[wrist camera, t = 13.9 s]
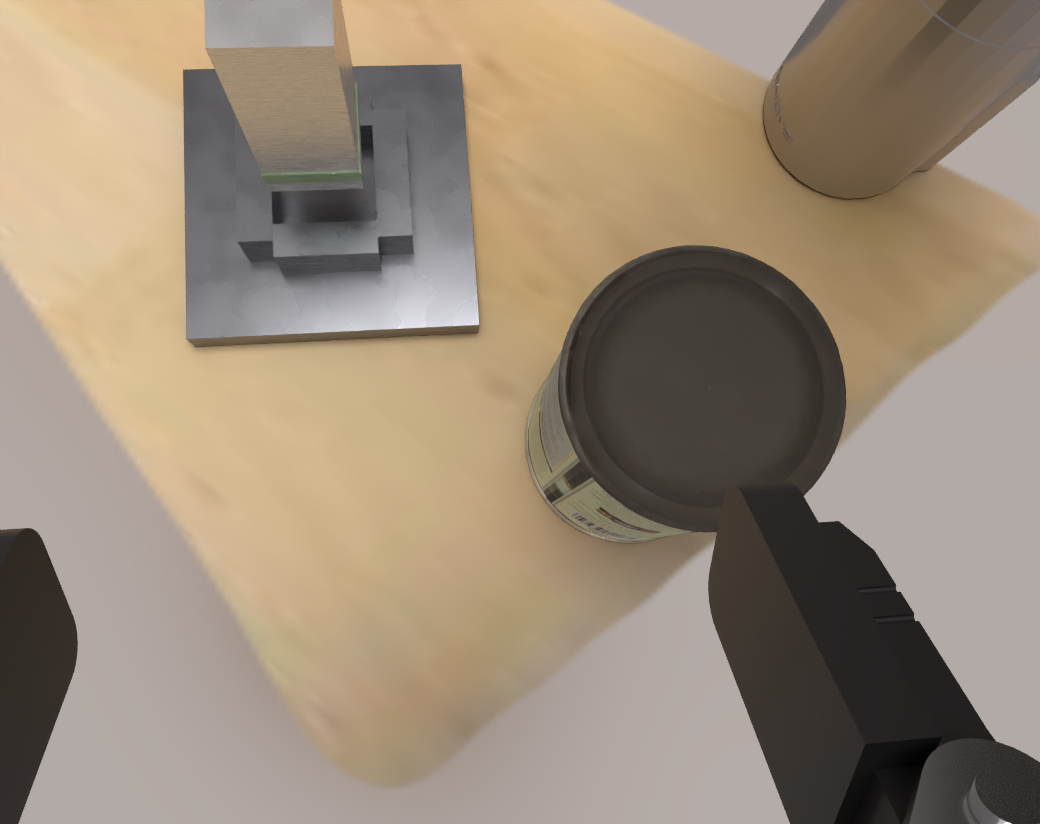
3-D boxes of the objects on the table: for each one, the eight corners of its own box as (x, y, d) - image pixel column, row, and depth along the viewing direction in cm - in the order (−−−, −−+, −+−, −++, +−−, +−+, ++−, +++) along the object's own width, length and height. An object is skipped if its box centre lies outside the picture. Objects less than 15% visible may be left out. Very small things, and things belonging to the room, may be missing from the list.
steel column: (360, 103, 39) (330, -67, 29) (364, 189, 39) (335, 47, 28) (266, 105, 39) (201, -67, 28) (269, 192, 38) (203, 49, 28)
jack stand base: (460, 80, 47) (464, -23, 39) (478, 332, 45) (486, 279, 37) (191, 85, 46) (136, -20, 38) (195, 346, 44) (137, 295, 35)
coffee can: (711, 337, 46) (828, 238, 32) (733, 536, 44) (866, 521, 30) (515, 346, 45) (548, 248, 31) (530, 550, 43) (572, 542, 29)
